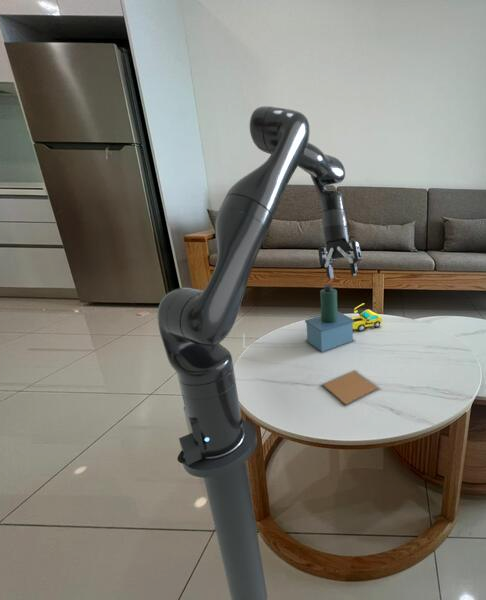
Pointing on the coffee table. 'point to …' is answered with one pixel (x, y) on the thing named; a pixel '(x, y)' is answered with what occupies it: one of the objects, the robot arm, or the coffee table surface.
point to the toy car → (366, 319)
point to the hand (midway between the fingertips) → (342, 277)
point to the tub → (329, 332)
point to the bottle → (328, 304)
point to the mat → (349, 387)
